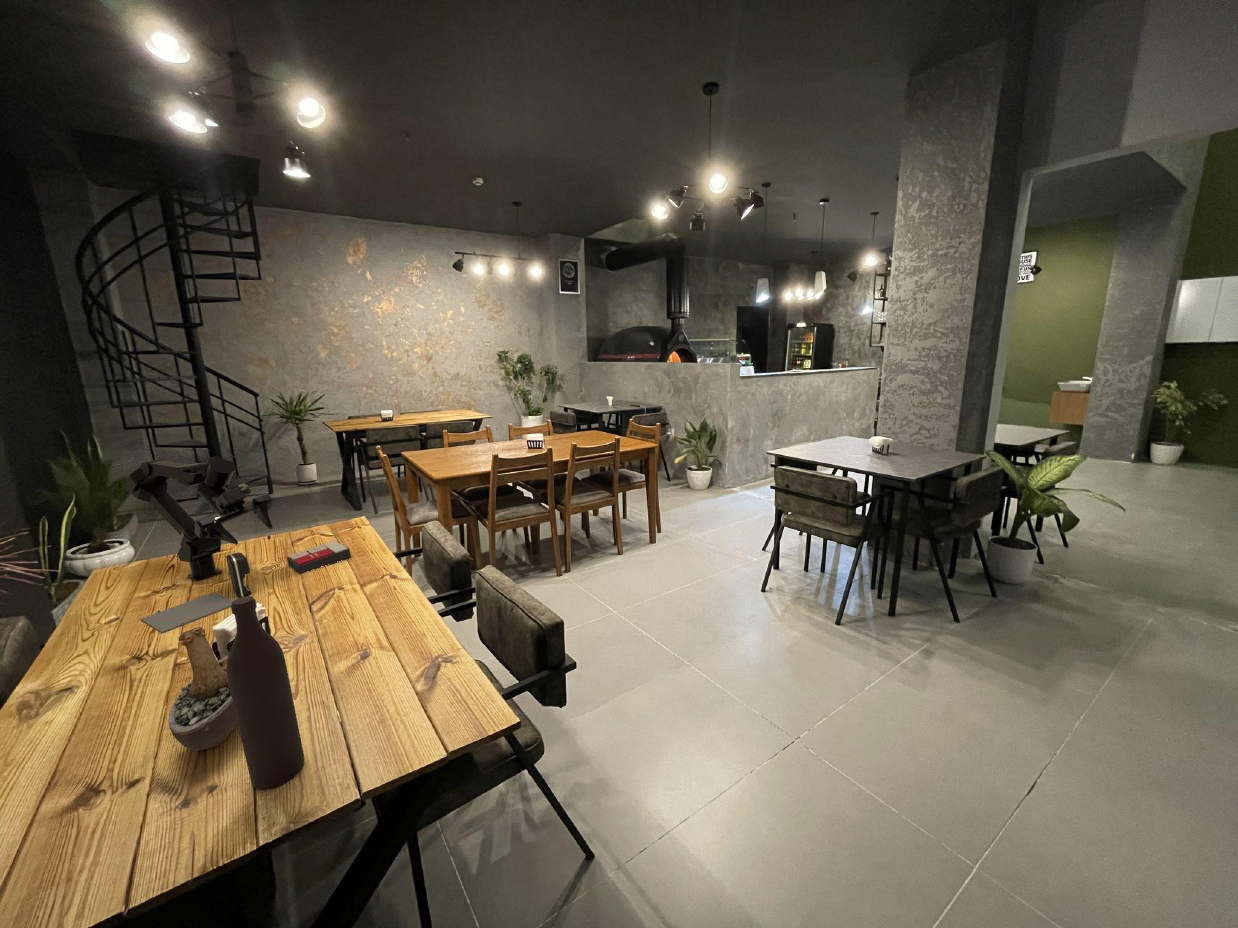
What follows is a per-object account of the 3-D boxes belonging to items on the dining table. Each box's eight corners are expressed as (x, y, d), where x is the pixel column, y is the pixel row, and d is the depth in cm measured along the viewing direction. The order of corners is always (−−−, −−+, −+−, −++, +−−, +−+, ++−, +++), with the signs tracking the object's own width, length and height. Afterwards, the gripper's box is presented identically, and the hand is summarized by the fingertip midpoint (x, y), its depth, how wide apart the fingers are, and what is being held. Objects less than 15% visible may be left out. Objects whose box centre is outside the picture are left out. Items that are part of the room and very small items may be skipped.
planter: (246, 689, 97) (226, 597, 93) (291, 719, 89) (271, 620, 85) (149, 740, 85) (120, 637, 80) (190, 780, 77) (161, 668, 72)
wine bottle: (301, 747, 83) (268, 584, 76) (309, 773, 77) (275, 600, 71) (249, 770, 78) (210, 599, 71) (254, 800, 73) (212, 618, 66)
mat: (140, 619, 124) (140, 618, 124) (215, 592, 138) (215, 591, 138) (162, 633, 118) (161, 631, 118) (238, 603, 132) (238, 602, 131)
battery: (255, 593, 137) (247, 555, 134) (239, 598, 134) (230, 560, 132) (249, 586, 141) (241, 549, 139) (233, 591, 139) (224, 553, 136)
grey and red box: (285, 555, 155) (336, 538, 166) (288, 567, 156) (338, 550, 167) (297, 564, 148) (349, 546, 159) (300, 577, 149) (352, 558, 160)
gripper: (181, 493, 127) (220, 535, 125) (256, 467, 142) (292, 504, 141) (179, 518, 133) (217, 558, 132) (252, 491, 148) (286, 526, 147)
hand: (254, 535), depth 138 cm, fingers open, 9 cm apart
